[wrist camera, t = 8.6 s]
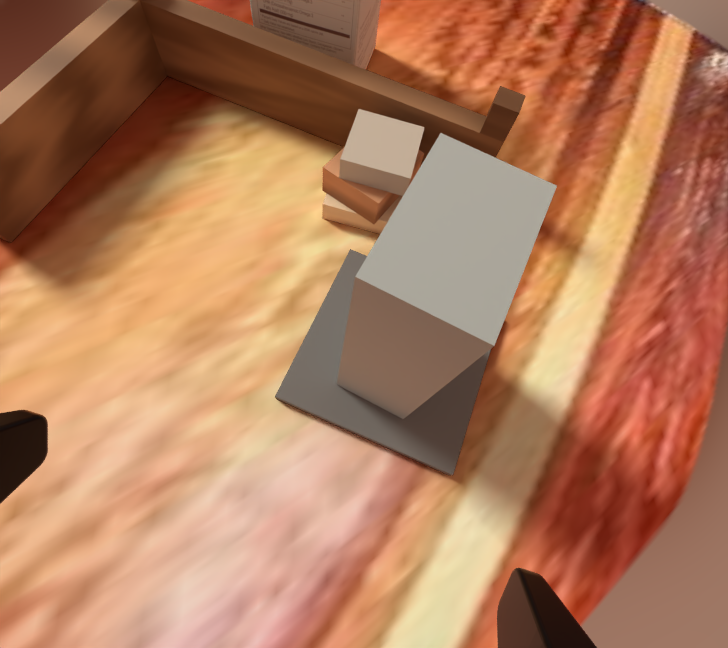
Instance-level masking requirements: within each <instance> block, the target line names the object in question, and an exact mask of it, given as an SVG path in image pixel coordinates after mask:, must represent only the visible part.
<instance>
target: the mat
mask: <svg viewBox="0 0 728 648" xmlns="http://www.w3.org/2000/svg"><path fill="white" fill-rule="evenodd" d="M366 258H367V256H365V255H363V254H360V253H358V252H356V251H353V250H351V249H350V251H349V253H348V255H347V257H346V259H345V261H344V263H343V265H342V267H341V269H340V271H339V272H338V274H337V276H336V278H335V280H334V282H333V284H332V286H331V288H330V290H329V292H328V294H327V296H326V298H325V300H324V302H323V304H322V306H321V308H320V310H319V312H318V314H317V315H316V317H315V319H314V321H313V323H312V325H311V327H310V329H309V331H308V333H307V335H306V337H305V339H304V341H303V343H302V345H301V347H300V349H299V351H298V353H297V355H296V357H295V358H294V360H293V362H292V364H291V366H290V368H289V370H288V372H287V374H286V376H285V378H284V380H283V382H282V384H281V386H280V388H279V390H278V392H277V394H276V396H275V397H276V399H278V400H280V401H282V402H284V403H287V404H289V405H291V406H293V407H296V408H298V409H300V410H302V411H305V412H307V413H309V414H312V415H314V416H316V417H318V418H321V419H323V420H325V421H327V422H330V423H332V424H334V425H336V426H339V427H341V428H343V429H345V430H348V431H350V432H352V433H354V434H357V435H359V436H361V437H363V438H366V439H368V440H370V441H373V442H375V443H377V444H379V445H382V446H384V447H386V448H388V449H391V450H393V451H395V452H397V453H400V454H402V455H404V456H406V457H409V458H411V459H413V460H415V461H418V462H420V463H422V464H425V465H427V466H429V467H431V468H434V469H436V470H438V471H440V472H443V473H445V474H447V475H449V476H450V475H453V474H454V470H455V467H456V464H457V460H458V457H459V454H460V450H461V447H462V444H463V440H464V437H465V434H466V430H467V427H468V424H469V421H470V417H471V414H472V411H473V407H474V404H475V401H476V397H477V394H478V391H479V387H480V384H481V381H482V377H483V374H484V371H485V367H486V364H487V361H488V357H489V354H490V351H491V349H490V350H489V351H487V352H486V353H485V354H484V355H482V356H481V357H480V358H479V359H477V360H476V361H475V362H474V363H473V364H471V365H470V366H469V367H468V368H466V369H465V370H464V371H463V372H461V373H460V374H459V375H458V376H456V377H455V378H454V379H453V380H451V381H450V382H449V383H448V384H446V385H445V386H444V387H443V388H441V389H440V390H439V391H438V392H436V393H435V394H434V395H433V396H432V397H430V398H429V399H428V400H427V401H425V402H424V403H423V404H422V405H420V406H419V407H418V408H417V409H415V410H414V411H413V412H412V413H410V414H409V415H408V416H407V417H405V418H404V419H402V418H400V417H398V416H396V415H394V414H392V413H390V412H388V411H386V410H384V409H383V408H381V407H379V406H377V405H375V404H373V403H371V402H369V401H367V400H365V399H363V398H362V397H360V396H358V395H356V394H354V393H352V392H350V391H348V390H346V389H344V388H343V387H341V386H339V385H337V378H338V372H339V367H340V361H341V355H342V349H343V344H344V338H345V332H346V326H347V321H348V315H349V309H350V303H351V298H352V292H353V286H354V280H355V276H356V274H357V273H358V271H359V269H360V268H361V266H362V264H363V263H364V261H365V259H366Z"/></svg>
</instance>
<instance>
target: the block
mask: <svg viewBox="0 0 728 648" xmlns="http://www.w3.org/2000/svg"><path fill="white" fill-rule="evenodd" d="M556 187H557V186H556V185H554V184H552V183H550V182H548V181H545V180H543V179H541V178H539V177H537V176H534V175H532V174H530V173H528V172H526V171H523V170H521V169H519V168H517V167H515V166H512V165H510V164H508V163H506V162H504V161H501V160H499V159H497V158H495V157H493V156H491V155H488V154H486V153H484V152H482V151H480V150H477V149H475V148H473V147H471V146H469V145H466V144H464V143H462V142H460V141H458V140H455V139H453V138H451V137H449V136H447V135H444V134H442V133H440V135H439V137H438V138H437V140H436V142H435V143H434V145H433V147H432V148H431V150H430V152H429V153H428V155H427V157H426V158H425V160H424V162H423V163H422V165H421V167H420V168H419V170H418V172H417V173H416V175H415V177H414V179H413V180H412V182H411V184H410V185H409V187H408V189H407V190H406V192H405V194H404V195H403V197H402V199H401V200H400V202H399V204H398V205H397V207H396V209H395V210H394V212H393V214H392V215H391V217H390V219H389V221H388V222H387V224H386V226H385V227H384V229H383V231H382V232H381V234H380V236H379V237H378V239H377V241H376V242H375V244H374V246H373V247H372V249H371V251H370V252H369V254H368V256H367V258H366V259H365V261H364V263H363V264H362V266H361V268H360V269H359V271H358V273H357V274H356V276H355V280H354V286H353V292H352V298H351V303H350V309H349V315H348V321H347V326H346V332H345V338H344V344H343V349H342V355H341V361H340V367H339V372H338V378H337V385H339V386H341V387H343V388H344V389H346V390H348V391H350V392H352V393H354V394H356V395H358V396H360V397H362V398H363V399H365V400H367V401H369V402H371V403H373V404H375V405H377V406H379V407H381V408H383V409H384V410H386V411H388V412H390V413H392V414H394V415H396V416H398V417H400V418H402V419H404V418H405V417H407V416H408V415H409V414H410V413H412V412H413V411H414V410H415V409H417V408H418V407H419V406H420V405H422V404H423V403H424V402H425V401H427V400H428V399H429V398H430V397H432V396H433V395H434V394H435V393H436V392H438V391H439V390H440V389H441V388H443V387H444V386H445V385H446V384H448V383H449V382H450V381H451V380H453V379H454V378H455V377H456V376H458V375H459V374H460V373H461V372H463V371H464V370H465V369H466V368H468V367H469V366H470V365H471V364H473V363H474V362H475V361H476V360H477V359H479V358H480V357H481V356H482V355H484V354H485V353H486V352H487V351H489V350H490V349H491V348H492V347H494V346H495V343H496V340H497V338H498V335H499V333H500V330H501V328H502V325H503V322H504V320H505V317H506V315H507V312H508V310H509V307H510V305H511V302H512V299H513V297H514V294H515V292H516V289H517V287H518V284H519V282H520V279H521V276H522V274H523V271H524V269H525V266H526V264H527V261H528V259H529V256H530V253H531V251H532V248H533V246H534V243H535V241H536V238H537V235H538V233H539V230H540V228H541V225H542V223H543V220H544V218H545V215H546V212H547V210H548V207H549V205H550V202H551V200H552V197H553V195H554V192H555V189H556Z"/></svg>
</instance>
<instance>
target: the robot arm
mask: <svg viewBox="0 0 728 648" xmlns="http://www.w3.org/2000/svg"><path fill="white" fill-rule="evenodd" d="M47 452H48V423H47V420H46V418H45V417H44V416H43V415H40V414H37V413H34V412H31V411H27V410H18V411H12V412H6V413H0V503H2V502H3V501H4V500H5V499H6V498H7V497H8V496H9V495H10V494H11V493H12V492H13V491H14V490H15V489H16V488H17V487H18V486H19V485H20V484H21V483H23V482H24V481H25V480H26V479H27V478H28V477H29V476H30V475H31V474H32V473H33V472H34V471H35V470H36V469H37V468H38V467H39V466H40V465H41V464H42V463H43V461H44V460H45V458H46V456H47ZM497 634H498V648H597V647H596V646H595V645H594V643H593V642H592V641H591V639H590V638H589V637H588V635H587V634H586V633H585V631H584V630H583V629H582V627H581V626H580V625H579V624H578V622H577V621H576V620H575V618H574V617H573V616H572V614H571V613H570V612H569V610H568V609H567V608H566V607H565V605H564V604H563V603H562V601H561V600H560V599H559V597H558V596H557V595H556V593H555V592H554V591H553V590H552V588H551V587H550V586H549V584H548V583H547V582H546V580H545V579H544V578H543V577H542V576H541V575H539V574H537V573H534V572H531V571H528V570H525V569H522V568H516V569H514V571H513V572H512V574H511V576H510V578H509V581H508V583H507V585H506V588H505V590H504V592H503V595H502V597H501V599H500V602H499V605H498V611H497Z"/></svg>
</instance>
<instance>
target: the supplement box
mask: <svg viewBox="0 0 728 648" xmlns="http://www.w3.org/2000/svg"><path fill="white" fill-rule="evenodd" d="M380 3H381V0H250V5H251V12H252V18H253V25H254V27H257V28H260V29H262V30H265V31H267V32H270V33H273V34H275V35H278V36H280V37H283V38H285V39H288V40H291V41H293V42H296V43H298V44H301V45H303V46H306V47H309V48H311V49H314V50H316V51H319V52H322V53H324V54H327V55H329V56H332V57H334V58H337V59H340V60H342V61H345V62H347V63H350V64H352V65H355V66H358V67H360V68H363V69H365V70H366V68H367V66H368V63H369V61H370V58H371V56H372V53H373V51H374V48H375V45H376V36H377V27H378V20H379V11H380Z"/></svg>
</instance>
